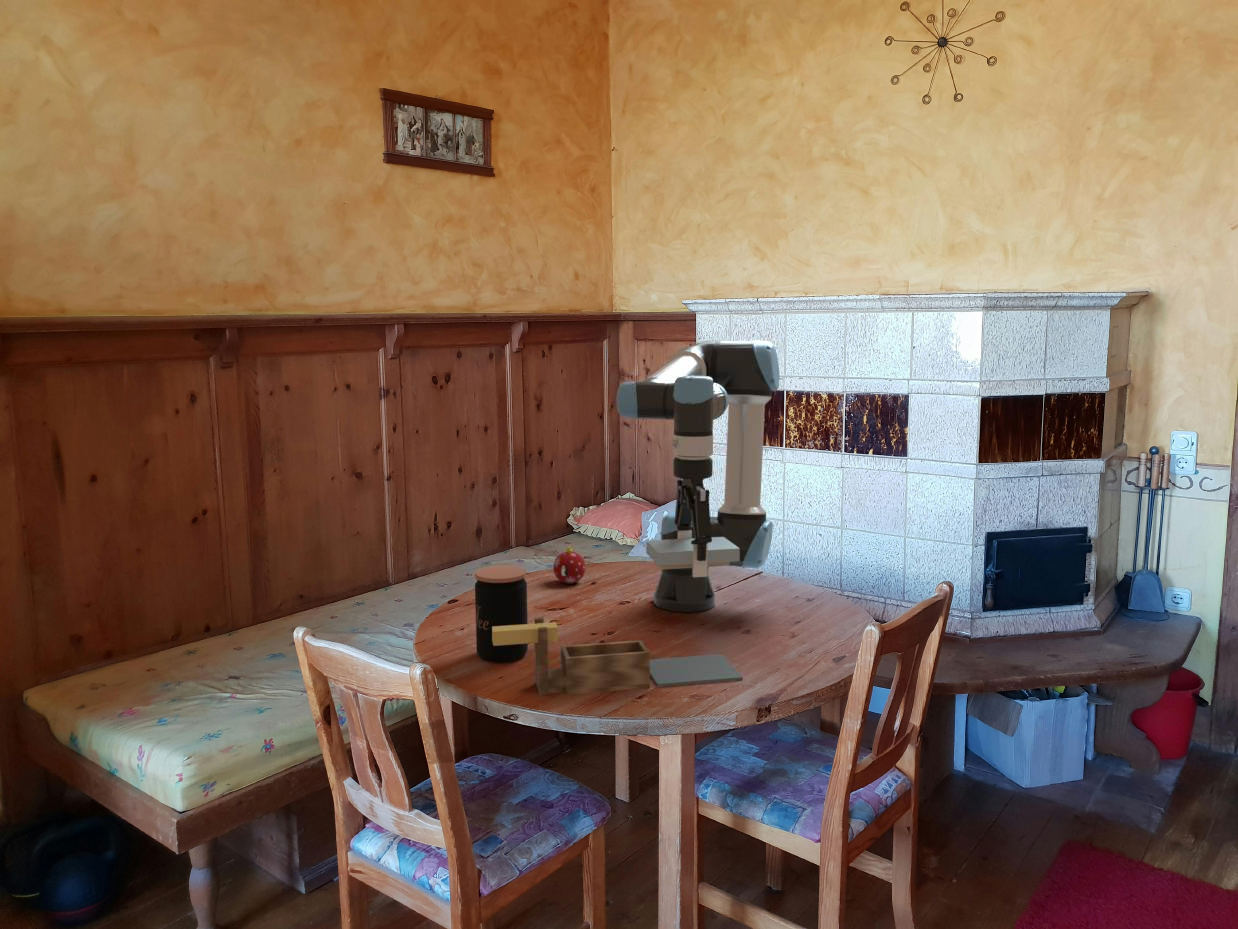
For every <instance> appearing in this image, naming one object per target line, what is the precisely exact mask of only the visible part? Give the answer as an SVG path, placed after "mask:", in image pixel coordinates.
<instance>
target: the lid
mask: <svg viewBox="0 0 1238 929" xmlns="http://www.w3.org/2000/svg"><path fill="white" fill-rule="evenodd" d="M692 540H694V538H691V539H671V540H661V539H655V540H646V541H645V543H646V546H645V548H646V549H645V551H646V555H648V556H649V558H650V559H651V560H653V561H654V564H655V565H656V567H657V568H659V569H660V571H661V570H662V569H680V568H693V544H691V541H692ZM733 561H740V548H738V547H737V546H736V545H734V544H733V543H731V542H730V541H729V540H727V539H726V538H724V537H712V542H709V543H708V554H707V567H708V568H709V567H710V568H711V567H713V568H714V567H731V566H730V562H733Z"/></svg>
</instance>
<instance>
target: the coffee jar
mask: <svg viewBox="0 0 1238 929" xmlns="http://www.w3.org/2000/svg"><path fill="white" fill-rule="evenodd" d="M526 576H527V570H526V569H525V568H524V567H522V566H519V565H518V566H517V565H508V564H507V565H506V564H505V565H504V564H503V565H502V564H498V565H490V566H485V567H481V568H478V569H477V570H476V571H475V572H474V577H475V579H476V582H475V583H474V600H475V602H474V604H475V605H474V606H475V637H476V638H475V641H476V642H475V643H476V644H475V645H476V653H477V655H478V657H479V658H480V660H482V661H483V662H487V663H492V664H506V663H507V664H510V663H514V662H517V661H519V660H522V659H523V658H524V657H525V655H526V654H527V652H528V650H529V643H526V644H512V645H498V646H493V641H492V627H493V626H508V625H523V624H529V623H528V582H527V581H526V579H525V578H526Z"/></svg>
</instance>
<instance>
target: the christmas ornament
mask: <svg viewBox="0 0 1238 929" xmlns="http://www.w3.org/2000/svg"><path fill="white" fill-rule="evenodd" d="M586 567H587V566H586V561H585V560H584V558H583V557H582V556H581V555H580V554H579V553H578V552H576V551H573V549H572V546H568V547H567V548H566V551H564V552H562V553H560V554H559V555H558V556H557V557H556V558H555V560H554V562H553V567H552V568H553V573H554V575H555V577H556V579H557V580H558V581H560V582H562V583H563V584H567V585H571V584H575V583H578V582H579V581H581V580H582V578H583V577H584V575H585V573H586Z"/></svg>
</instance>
